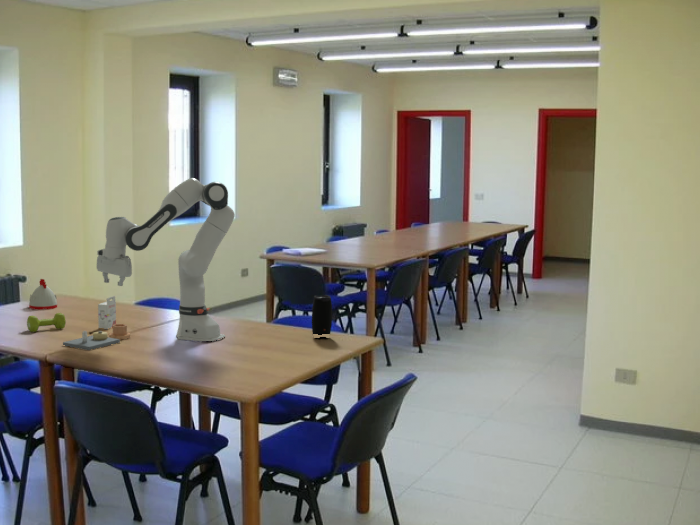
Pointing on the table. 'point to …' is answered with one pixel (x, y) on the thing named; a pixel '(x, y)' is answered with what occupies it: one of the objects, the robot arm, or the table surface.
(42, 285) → the white and red dome
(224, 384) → the table surface
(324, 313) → the portable speaker
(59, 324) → the dumbbell
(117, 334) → the octagonal tube stub
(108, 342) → the carrier plate
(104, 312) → the ink cartridge box
